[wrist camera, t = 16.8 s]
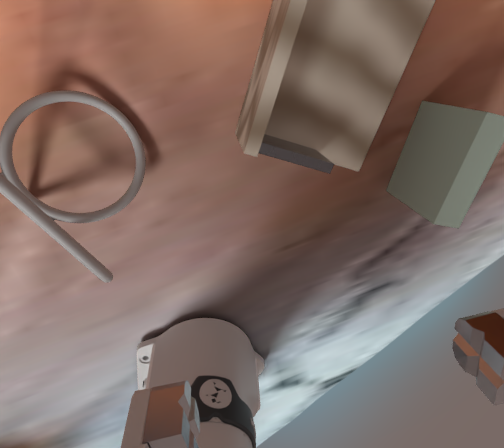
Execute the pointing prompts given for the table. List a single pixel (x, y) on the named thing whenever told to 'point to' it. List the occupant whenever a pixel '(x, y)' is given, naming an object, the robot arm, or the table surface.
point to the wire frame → (45, 214)
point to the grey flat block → (446, 161)
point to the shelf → (327, 78)
